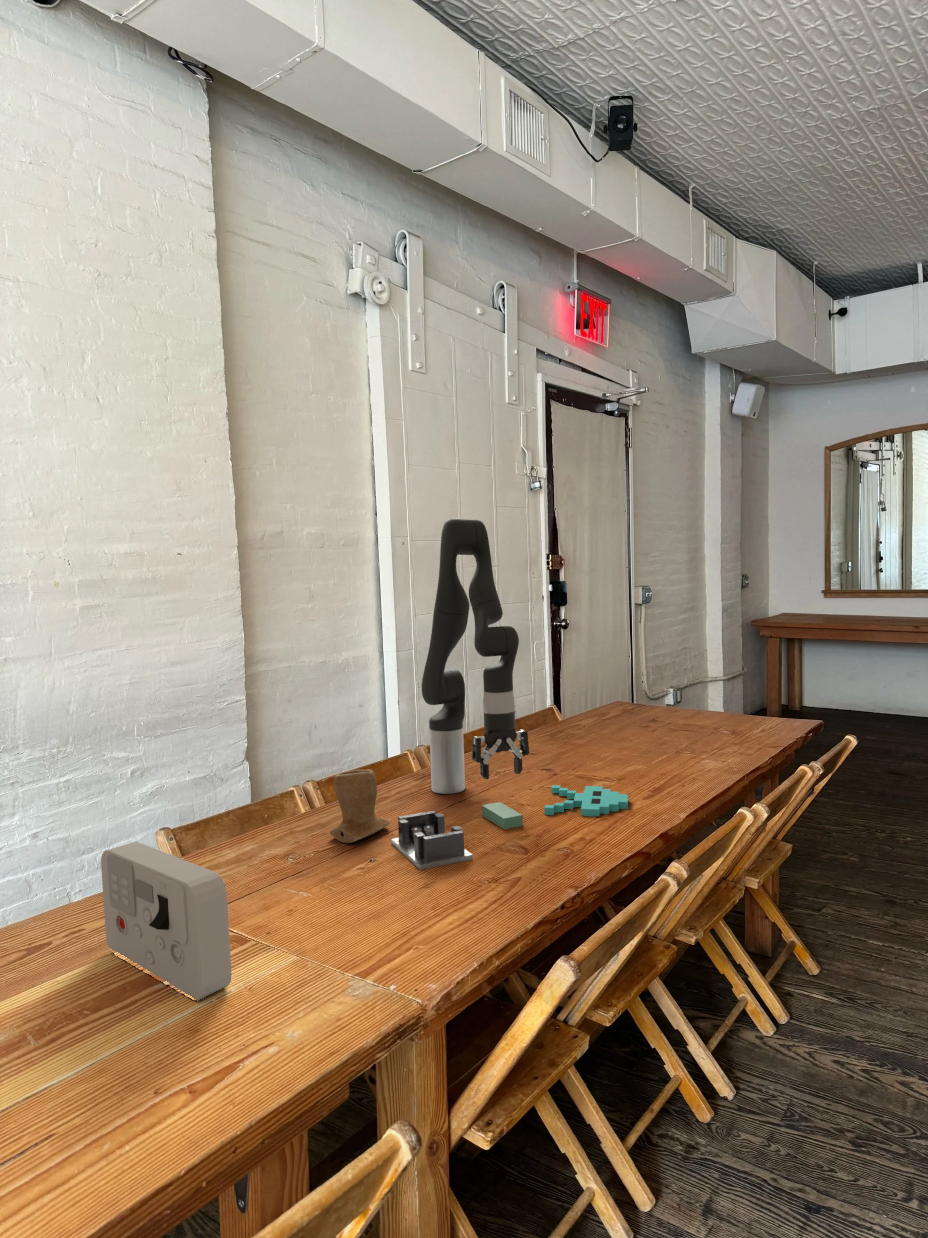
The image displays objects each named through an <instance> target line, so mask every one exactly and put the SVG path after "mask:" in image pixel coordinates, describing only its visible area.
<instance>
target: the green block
mask: <svg viewBox="0 0 928 1238" xmlns="http://www.w3.org/2000/svg"><path fill="white" fill-rule="evenodd" d="M481 815H482V816H483V817H484V818H486V819H487V820H488V821H490V822H492V823H493V824H495V825H496V826H498V827H499V826H500V828H501V829H502V830H509V829H513V828H514V827H515V828H520V827H523V826H524V824H523V823H524V820H523V816H524V814H521V813H520V812H518V811H516V810H515V809H513V808H511V807H509V806H508V805H505V804H504V803H502V802H501V801H497V802H493V803H492V802H491V803H487V804H482V805H481ZM519 826H520V827H519Z"/></svg>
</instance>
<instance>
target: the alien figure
mask: <svg viewBox="0 0 928 1238" xmlns="http://www.w3.org/2000/svg"><path fill="white" fill-rule="evenodd" d="M552 793H559V794H558V797H559V796H567V797H566V800H565V799H564V802H555V803H554V804H553V805H552V804H551V805H550V804H545V805H544V810H543V811H544V815H545V816H555V813H559V812H563V813H564V812H565V810H564V809H573V808H574V809H575V807H581V808H580V816H581V815H583V816H582V817H596V816H599V817H601V815H610V812H619V810H628V806H629V805H628V804H629V802H628V801H629V798H628V797H629V795H628V794H624V793H623V794H622V793H620V791H611V788H603V786H602V785H601V786H595V785H594V786H593V785H592V786H591V785H586V786H585V787H584V791H583V792H577V790H569V787H561V785H556V784H555V785H554V784H553V785H552V786H551V794H552ZM569 799H574V800H569ZM574 809H573V810H574ZM601 813H603V814H601Z"/></svg>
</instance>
